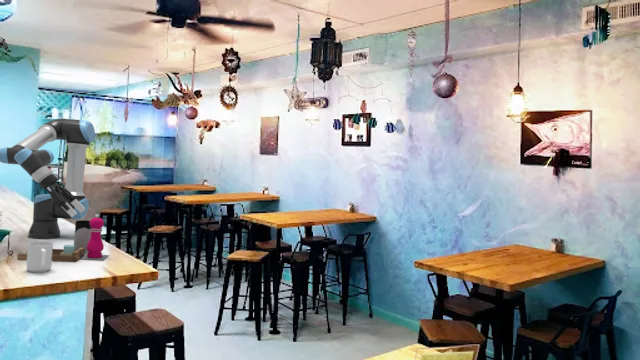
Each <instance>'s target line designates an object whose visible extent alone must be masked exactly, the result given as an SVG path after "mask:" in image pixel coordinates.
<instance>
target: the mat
mask: <svg viewBox="0 0 640 360" xmlns="http://www.w3.org/2000/svg"><path fill="white" fill-rule="evenodd" d="M109 256H110V255H109V254H102V257H101V258H88V257H87V254H85V255H84V256H83V257H82V258H80V259H79V260H81V261H105V260H106V259H107V258H108V257H109Z"/></svg>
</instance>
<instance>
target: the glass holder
mask: <svg viewBox="0 0 640 360" xmlns="http://www.w3.org/2000/svg"><path fill="white" fill-rule="evenodd" d="M74 226H75V227H74V228H75V229H74V237H73V245H75V250H78V249H79V248H81V247H85V255H86V254H87V253H89V252H88V250H87V244H88V242H89V240H90V238H91V231H90V230H91V229H90V228H91V226H90V220H85V219H84V220H82V219H80V220H76V221H75V225H74Z"/></svg>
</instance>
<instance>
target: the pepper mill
mask: <svg viewBox="0 0 640 360" xmlns="http://www.w3.org/2000/svg"><path fill="white" fill-rule="evenodd" d="M89 221H90V226H91V228H90V229H91V230H90V231H91V238H90V240H89V242H88V244H87V250H88V252H89V253H87V257H88V258H101V257H102V255H103V253H102V251H103V250H104V247H105V245H104V241H103V240H102V234H101V233H102V231H103V226H104V225H105V222H104V219H103V218H101V217H100V214H98V213H97V214H95V215H94V217H93V218H91V219H90V220H89Z"/></svg>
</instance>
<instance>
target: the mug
mask: <svg viewBox="0 0 640 360" xmlns="http://www.w3.org/2000/svg"><path fill="white" fill-rule="evenodd" d="M53 249H54V242H51V241H46V240H44V241H43V240H40V241H39V240H38V241H35V240H34V241H30V242H28V243H27V248H26V250H27V260H26V266H25V267H26V270H27V271H28V272H30V273H44V272H48V271H49V270H51V269H52V266H53V265H52V264H53V261H52V251H53Z"/></svg>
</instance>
